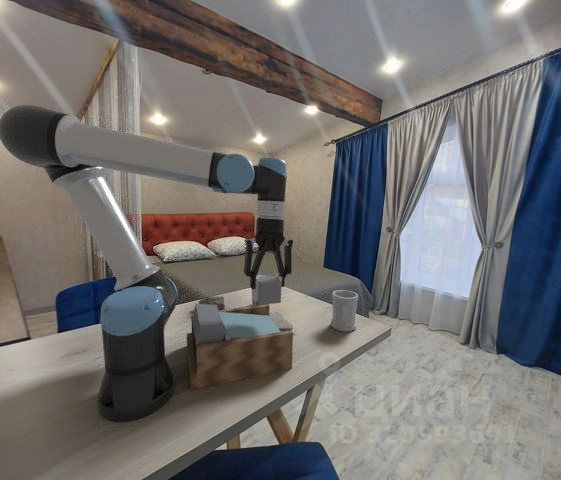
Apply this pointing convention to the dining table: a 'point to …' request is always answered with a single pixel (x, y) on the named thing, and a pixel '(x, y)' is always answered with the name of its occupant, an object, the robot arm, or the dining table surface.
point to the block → (269, 290)
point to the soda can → (252, 291)
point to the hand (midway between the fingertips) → (266, 298)
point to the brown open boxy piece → (238, 355)
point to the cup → (344, 310)
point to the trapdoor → (228, 325)
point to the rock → (214, 302)
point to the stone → (280, 321)
